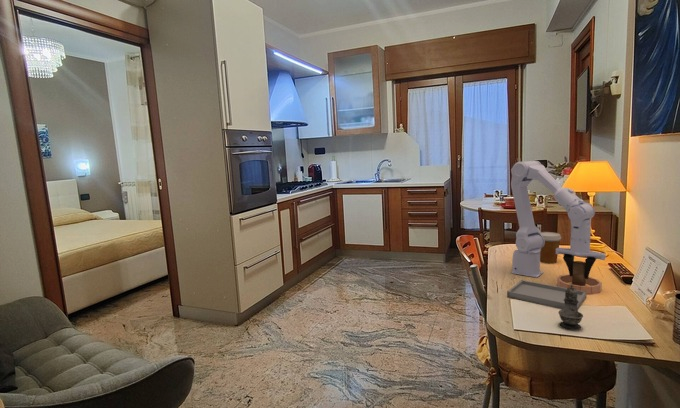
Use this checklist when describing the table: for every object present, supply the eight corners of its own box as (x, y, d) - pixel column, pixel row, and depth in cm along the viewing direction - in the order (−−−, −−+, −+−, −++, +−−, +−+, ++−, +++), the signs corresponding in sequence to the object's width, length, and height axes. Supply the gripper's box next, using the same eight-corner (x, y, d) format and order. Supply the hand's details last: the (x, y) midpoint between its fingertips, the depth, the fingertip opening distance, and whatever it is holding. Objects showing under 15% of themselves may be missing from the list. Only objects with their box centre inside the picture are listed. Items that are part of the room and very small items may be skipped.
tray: (507, 297, 128) (507, 291, 127) (521, 285, 138) (521, 279, 137) (575, 311, 114) (576, 305, 114) (586, 297, 124) (586, 291, 124)
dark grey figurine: (553, 322, 108) (554, 281, 107) (572, 320, 109) (574, 280, 107) (567, 331, 102) (568, 289, 101) (587, 330, 103) (589, 287, 101)
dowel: (570, 285, 133) (571, 263, 132) (573, 282, 136) (574, 260, 135) (583, 287, 130) (584, 265, 129) (586, 284, 133) (587, 262, 132)
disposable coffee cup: (537, 257, 171) (538, 231, 169) (562, 259, 165) (562, 232, 164) (533, 262, 163) (534, 235, 162) (559, 265, 158) (560, 237, 156)
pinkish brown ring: (553, 288, 133) (553, 281, 133) (562, 278, 142) (563, 272, 142) (596, 296, 124) (596, 289, 124) (604, 285, 133) (604, 278, 133)
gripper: (553, 238, 133) (552, 275, 135) (603, 243, 123) (601, 284, 125) (559, 234, 138) (558, 270, 140) (607, 239, 128) (605, 278, 130)
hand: (578, 276), depth 133 cm, fingers closed on dowel, 4 cm apart
